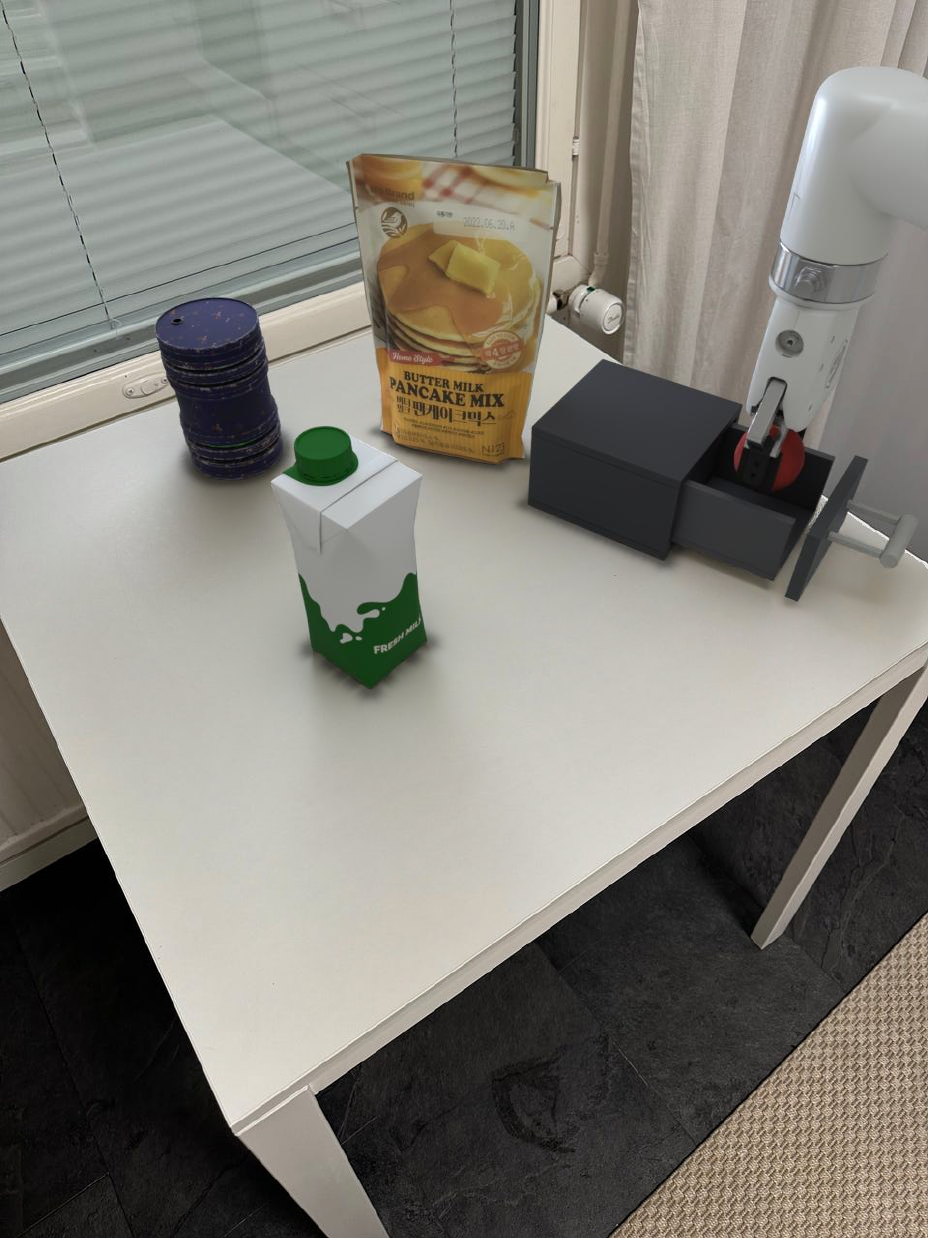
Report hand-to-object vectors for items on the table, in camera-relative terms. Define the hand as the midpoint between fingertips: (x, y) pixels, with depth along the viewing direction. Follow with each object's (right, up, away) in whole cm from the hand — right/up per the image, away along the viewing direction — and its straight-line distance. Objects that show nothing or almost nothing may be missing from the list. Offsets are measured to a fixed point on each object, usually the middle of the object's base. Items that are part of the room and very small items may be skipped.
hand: (767, 464), depth 78 cm
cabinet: (-10, -1, +11) cm, 15 cm away
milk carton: (-35, -16, -2) cm, 38 cm away
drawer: (+3, -7, +5) cm, 9 cm away
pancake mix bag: (-28, +6, +18) cm, 34 cm away
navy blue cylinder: (-51, +4, +17) cm, 54 cm away
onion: (0, -2, +2) cm, 3 cm away
